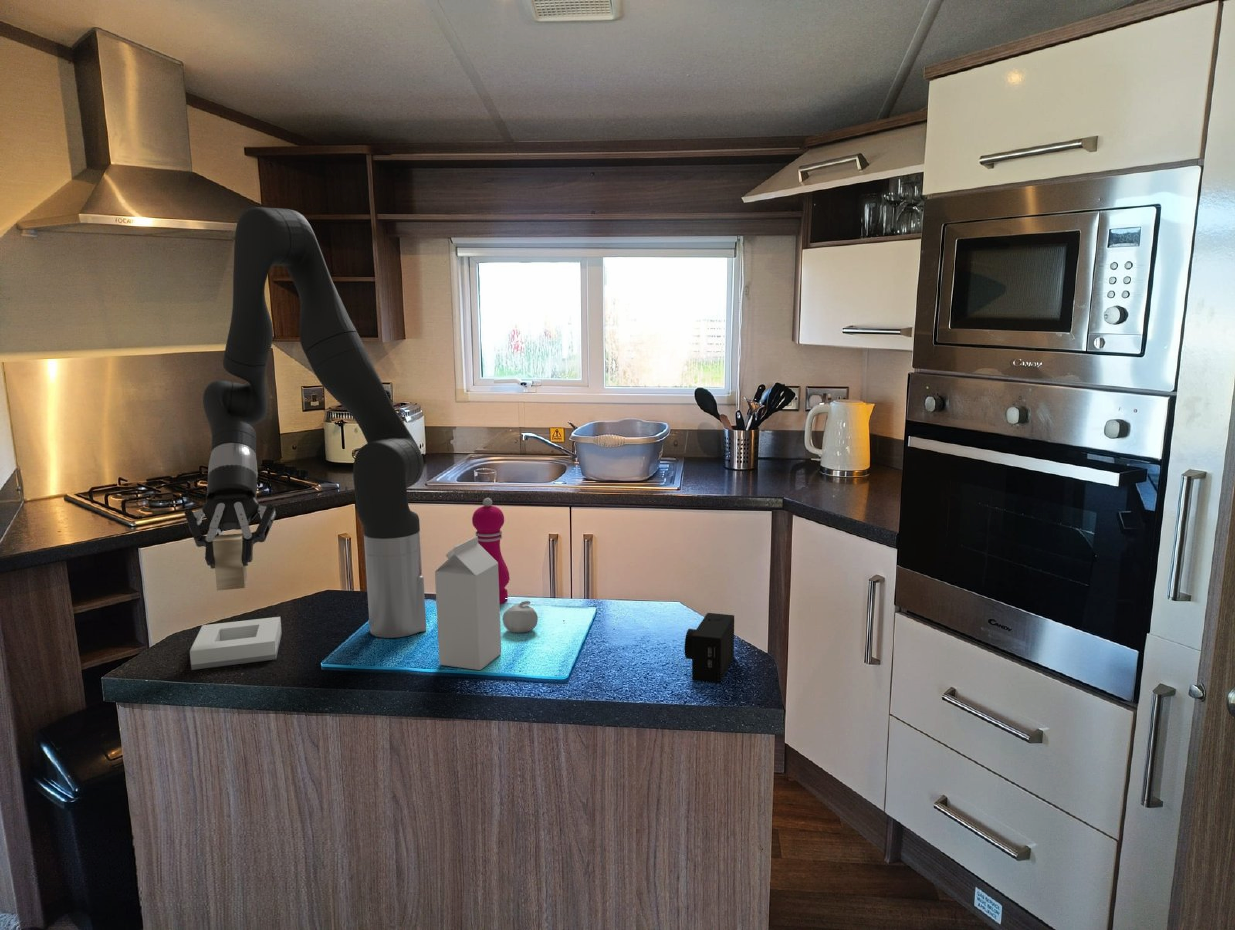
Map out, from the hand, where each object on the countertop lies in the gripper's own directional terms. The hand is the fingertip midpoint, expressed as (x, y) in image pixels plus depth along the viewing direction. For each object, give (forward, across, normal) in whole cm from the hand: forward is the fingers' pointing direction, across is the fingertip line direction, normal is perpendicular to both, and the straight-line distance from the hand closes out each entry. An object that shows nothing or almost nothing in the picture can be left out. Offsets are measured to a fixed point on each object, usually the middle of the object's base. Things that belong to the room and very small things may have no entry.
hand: (229, 564), depth 127 cm
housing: (+9, 0, +12) cm, 15 cm away
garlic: (+14, +45, +7) cm, 48 cm away
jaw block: (+2, 0, +4) cm, 5 cm away
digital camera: (+32, +69, -11) cm, 77 cm away
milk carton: (+21, +35, 0) cm, 41 cm away
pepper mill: (+2, +43, +20) cm, 47 cm away
